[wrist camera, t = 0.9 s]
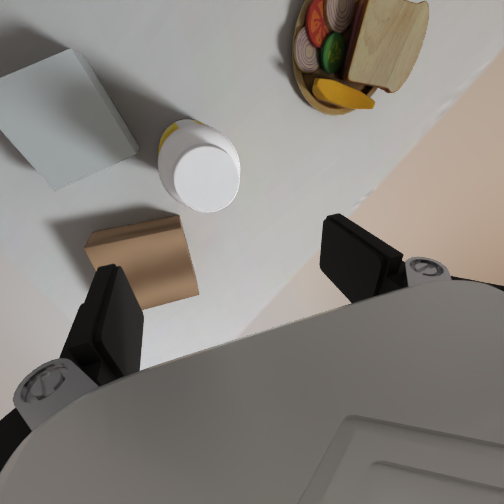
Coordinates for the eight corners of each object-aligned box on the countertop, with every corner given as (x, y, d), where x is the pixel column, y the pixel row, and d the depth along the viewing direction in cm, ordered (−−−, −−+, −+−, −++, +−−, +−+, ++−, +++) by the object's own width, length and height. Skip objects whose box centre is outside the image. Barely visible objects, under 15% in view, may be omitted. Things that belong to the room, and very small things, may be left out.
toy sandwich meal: (313, -61, 22) (344, -96, 18) (413, 7, 27) (455, -9, 23) (273, 96, 28) (291, 95, 24) (363, 129, 33) (390, 132, 29)
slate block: (-3, 93, 21) (-34, 91, 18) (85, 56, 21) (70, 48, 18) (68, 180, 25) (54, 191, 22) (139, 147, 26) (136, 154, 23)
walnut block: (92, 232, 29) (83, 248, 25) (179, 214, 31) (180, 228, 27) (124, 295, 34) (120, 315, 31) (196, 277, 36) (199, 294, 33)
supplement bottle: (167, 185, 29) (169, 232, 18) (151, 121, 25) (142, 134, 15) (223, 177, 30) (255, 217, 20) (215, 116, 27) (250, 124, 16)
